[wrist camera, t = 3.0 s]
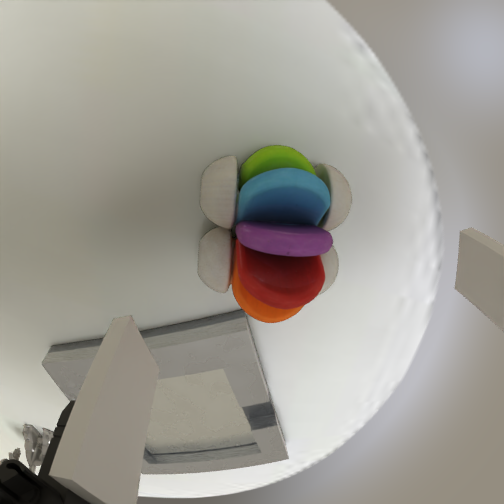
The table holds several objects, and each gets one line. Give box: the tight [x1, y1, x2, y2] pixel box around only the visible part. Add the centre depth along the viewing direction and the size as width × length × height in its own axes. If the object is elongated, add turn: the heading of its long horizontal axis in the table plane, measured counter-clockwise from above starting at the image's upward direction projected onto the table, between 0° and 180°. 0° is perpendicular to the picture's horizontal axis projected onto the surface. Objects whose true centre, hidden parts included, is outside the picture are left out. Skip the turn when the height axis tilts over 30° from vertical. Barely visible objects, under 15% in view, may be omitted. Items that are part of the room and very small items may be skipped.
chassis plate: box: [41, 310, 289, 474], centre depth 24 cm, size 20×18×2 cm
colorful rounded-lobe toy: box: [198, 145, 352, 323], centre depth 16 cm, size 8×10×7 cm
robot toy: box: [0, 424, 54, 473], centre depth 21 cm, size 15×6×15 cm, turn 92°
